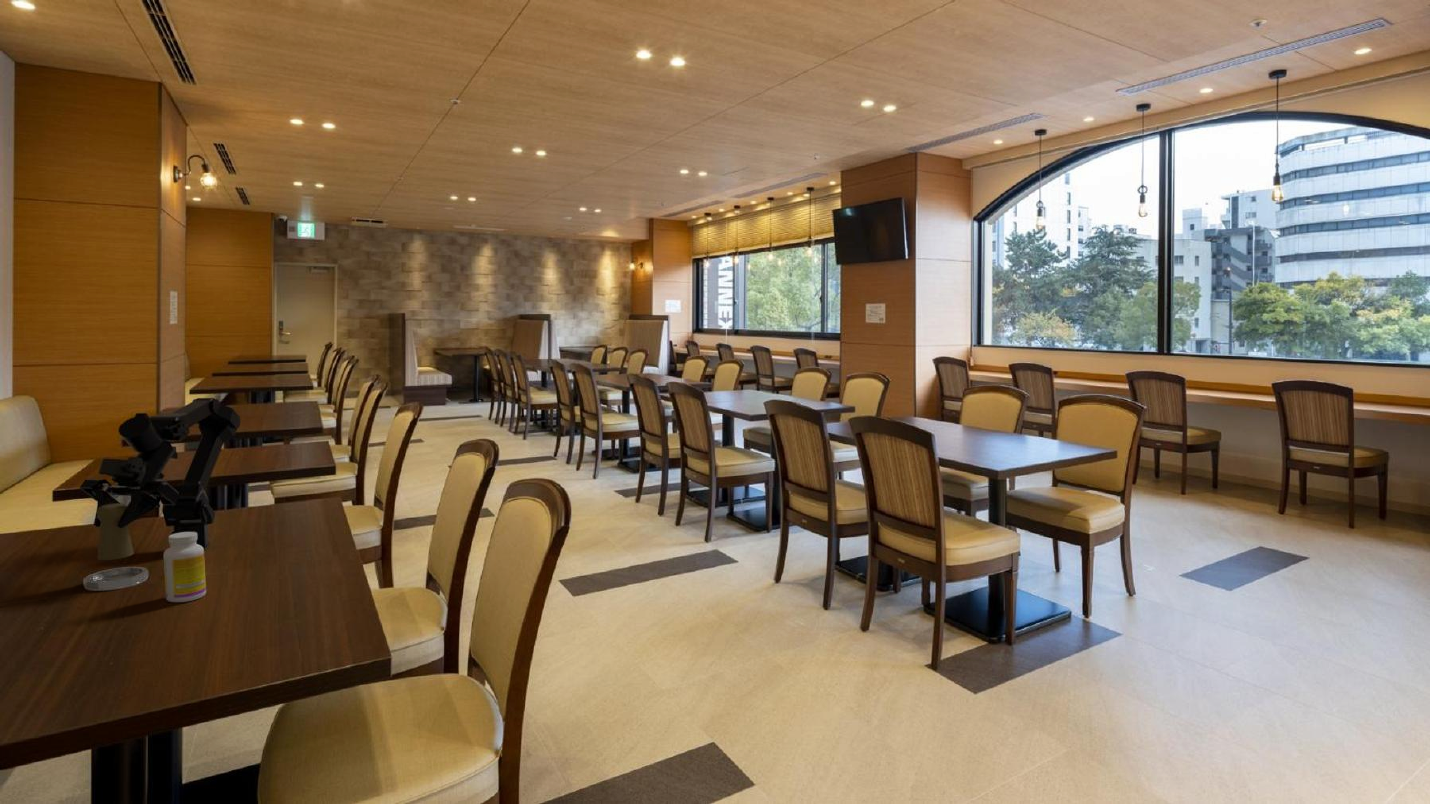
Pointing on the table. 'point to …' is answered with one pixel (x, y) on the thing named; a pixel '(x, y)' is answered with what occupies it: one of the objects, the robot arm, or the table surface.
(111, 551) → the cork
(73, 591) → the table surface
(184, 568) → the supplement bottle
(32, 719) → the table surface
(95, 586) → the ring seat
